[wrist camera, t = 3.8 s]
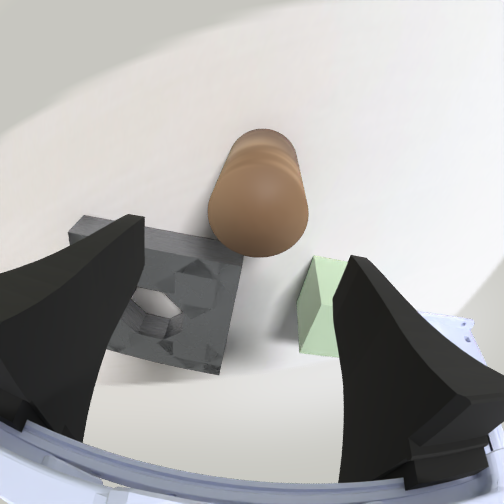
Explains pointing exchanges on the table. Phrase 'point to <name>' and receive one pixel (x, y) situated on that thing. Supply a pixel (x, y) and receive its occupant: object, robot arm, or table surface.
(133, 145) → the table surface
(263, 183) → the walnut peg
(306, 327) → the square bit
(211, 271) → the socket block
